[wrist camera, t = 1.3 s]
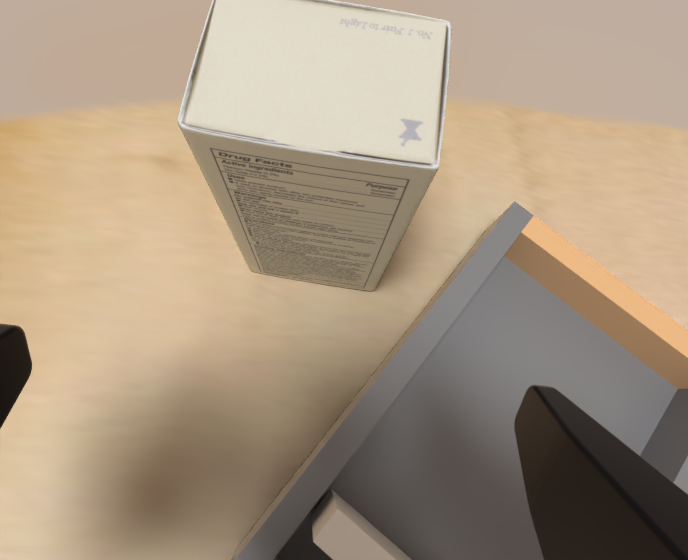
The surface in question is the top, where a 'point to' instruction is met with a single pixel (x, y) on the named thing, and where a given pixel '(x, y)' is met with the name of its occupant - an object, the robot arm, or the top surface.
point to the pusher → (349, 533)
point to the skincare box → (317, 130)
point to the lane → (489, 402)
